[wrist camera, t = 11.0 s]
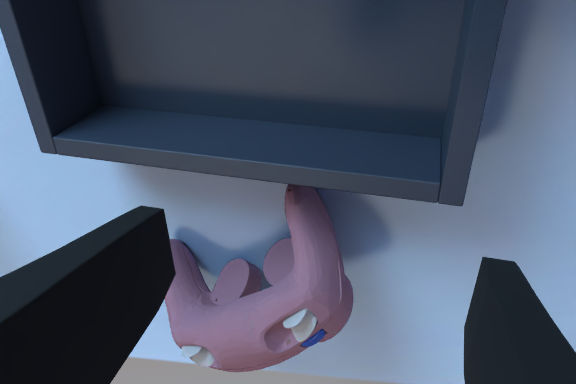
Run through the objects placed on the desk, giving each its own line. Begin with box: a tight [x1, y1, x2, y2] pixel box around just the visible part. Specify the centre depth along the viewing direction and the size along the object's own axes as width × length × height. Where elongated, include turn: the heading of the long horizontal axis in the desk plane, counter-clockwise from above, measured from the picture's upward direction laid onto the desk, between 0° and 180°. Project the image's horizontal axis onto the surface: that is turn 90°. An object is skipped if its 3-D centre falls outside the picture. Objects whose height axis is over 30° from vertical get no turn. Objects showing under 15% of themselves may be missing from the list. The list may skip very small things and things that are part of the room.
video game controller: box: [164, 184, 353, 372], centre depth 22 cm, size 10×5×7 cm, turn 125°
